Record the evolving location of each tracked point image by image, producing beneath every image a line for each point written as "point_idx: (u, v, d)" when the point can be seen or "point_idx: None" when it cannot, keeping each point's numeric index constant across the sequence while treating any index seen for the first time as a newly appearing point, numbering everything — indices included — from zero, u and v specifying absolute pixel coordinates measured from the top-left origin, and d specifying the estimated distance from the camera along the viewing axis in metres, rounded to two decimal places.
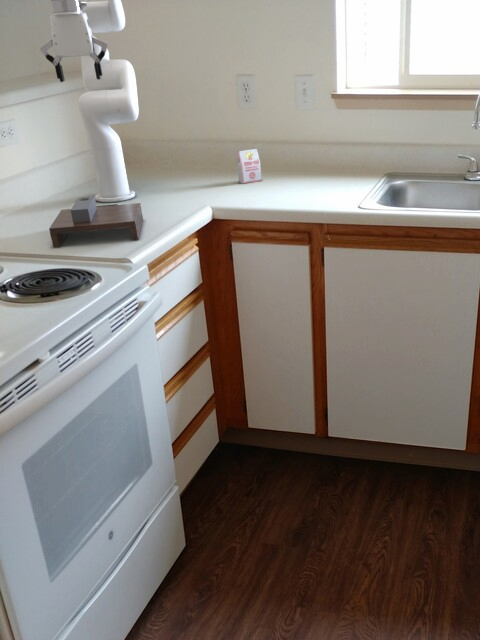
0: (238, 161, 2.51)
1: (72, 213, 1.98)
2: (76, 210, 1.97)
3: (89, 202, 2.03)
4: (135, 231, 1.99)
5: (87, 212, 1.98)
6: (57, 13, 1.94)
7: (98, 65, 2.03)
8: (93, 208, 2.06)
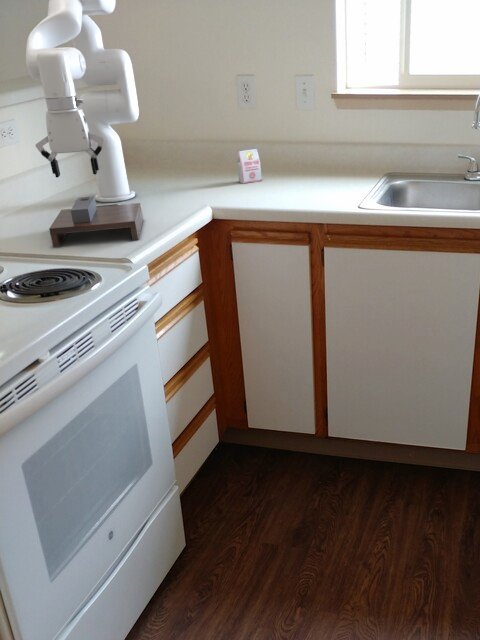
0: (238, 161, 2.51)
1: (72, 213, 1.98)
2: (76, 210, 1.97)
3: (89, 202, 2.03)
4: (135, 231, 1.99)
5: (87, 212, 1.98)
6: (52, 111, 1.89)
7: (95, 160, 1.98)
8: (93, 208, 2.06)
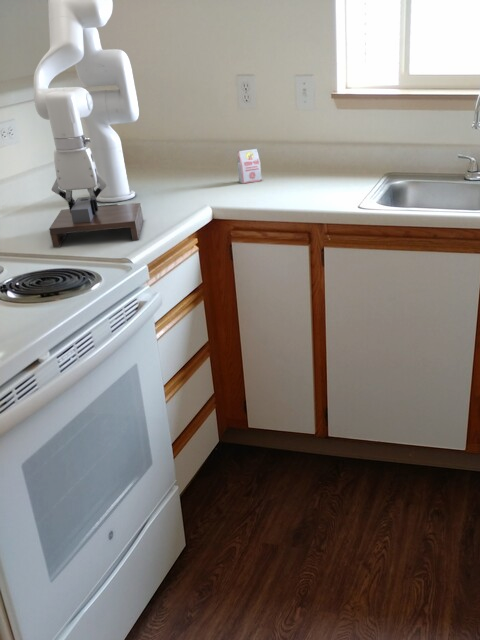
0: (238, 161, 2.51)
1: (72, 213, 1.98)
2: (76, 210, 1.97)
3: (89, 202, 2.03)
4: (135, 231, 1.99)
5: (87, 212, 1.98)
6: (61, 151, 1.93)
7: (94, 201, 2.03)
8: None
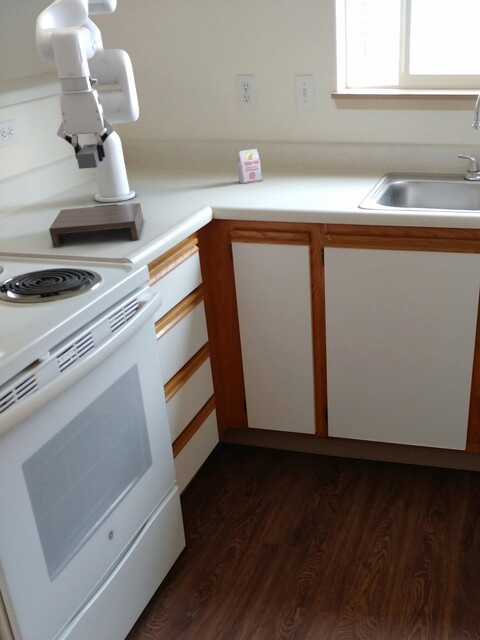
0: (238, 161, 2.51)
1: (78, 158, 1.91)
2: (82, 154, 1.91)
3: (95, 148, 1.97)
4: (135, 231, 1.99)
5: (93, 157, 1.91)
6: (67, 92, 1.87)
7: (101, 147, 1.96)
8: None
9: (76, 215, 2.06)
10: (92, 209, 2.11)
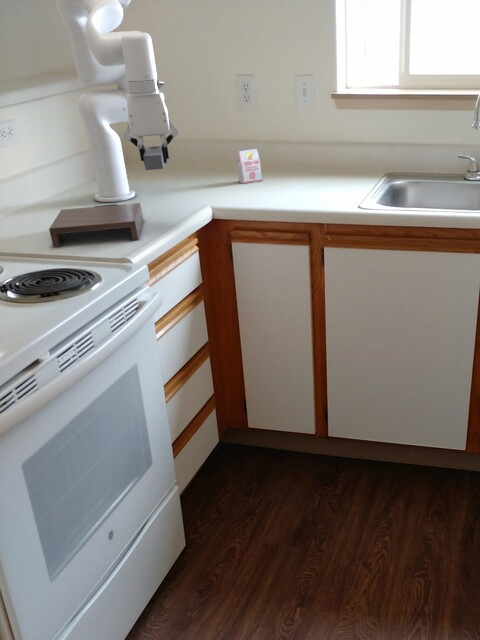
0: (238, 161, 2.51)
1: (145, 159, 1.93)
2: (149, 156, 1.93)
3: (160, 150, 1.99)
4: (135, 231, 1.99)
5: (160, 158, 1.94)
6: (135, 94, 1.89)
7: (165, 149, 1.99)
8: None
9: (76, 215, 2.06)
10: (92, 209, 2.11)
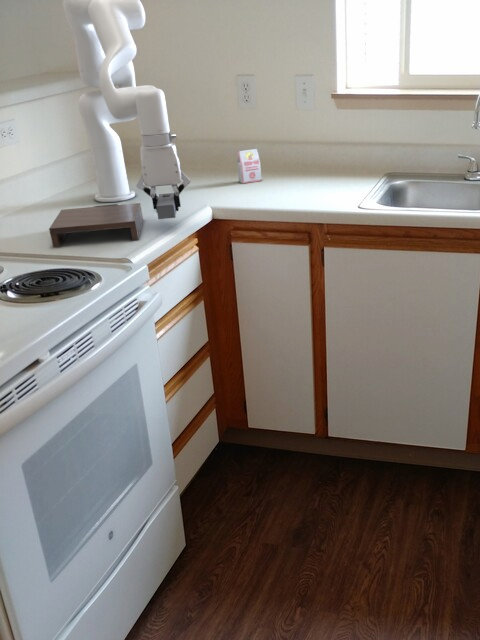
0: (238, 161, 2.51)
1: (158, 209, 2.00)
2: (162, 206, 2.00)
3: (172, 198, 2.06)
4: (135, 231, 1.99)
5: (172, 208, 2.00)
6: (148, 147, 1.96)
7: (177, 198, 2.05)
8: None
9: (76, 215, 2.06)
10: (92, 209, 2.11)
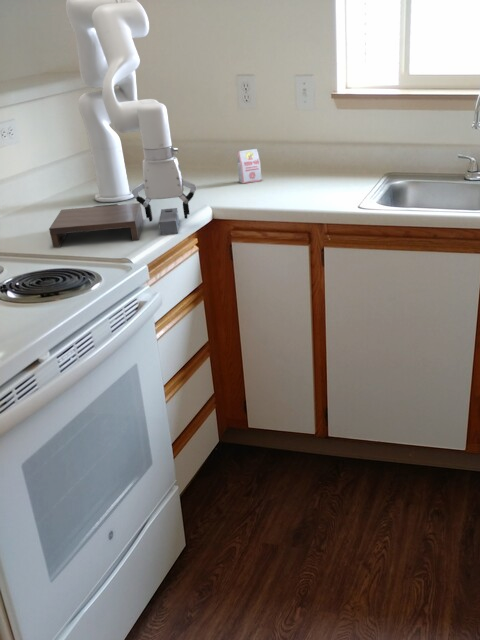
0: (238, 161, 2.51)
1: (160, 225, 2.02)
2: (164, 222, 2.02)
3: (174, 214, 2.08)
4: (135, 231, 1.99)
5: (175, 224, 2.02)
6: (150, 161, 1.98)
7: (186, 205, 2.07)
8: (177, 219, 2.10)
9: (76, 215, 2.06)
10: (92, 209, 2.11)
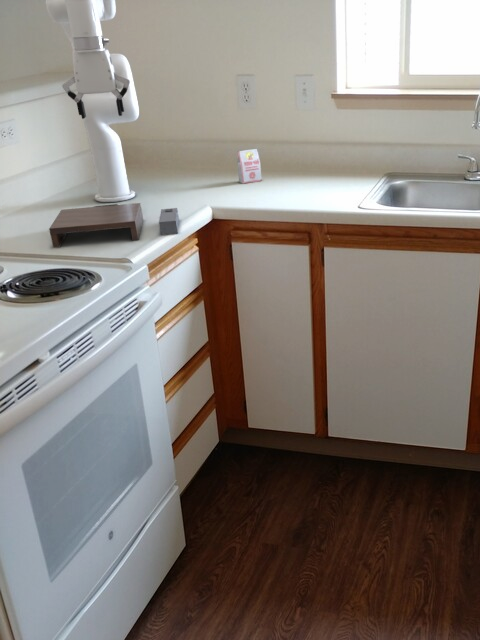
0: (238, 161, 2.51)
1: (160, 225, 2.02)
2: (164, 222, 2.02)
3: (174, 214, 2.08)
4: (135, 231, 1.99)
5: (175, 224, 2.02)
6: (80, 51, 1.91)
7: (120, 102, 2.01)
8: (177, 219, 2.10)
9: (76, 215, 2.06)
10: (92, 209, 2.11)
